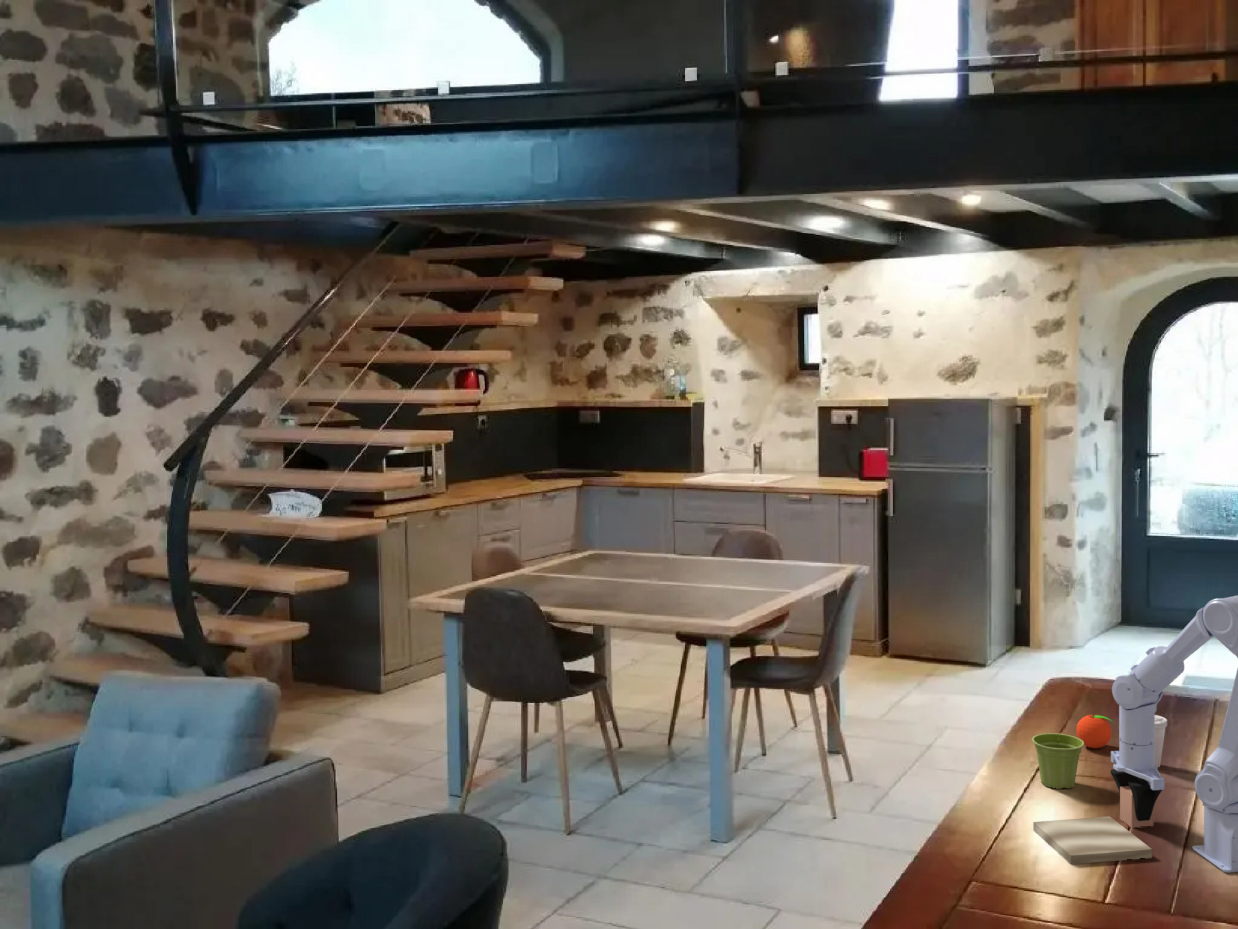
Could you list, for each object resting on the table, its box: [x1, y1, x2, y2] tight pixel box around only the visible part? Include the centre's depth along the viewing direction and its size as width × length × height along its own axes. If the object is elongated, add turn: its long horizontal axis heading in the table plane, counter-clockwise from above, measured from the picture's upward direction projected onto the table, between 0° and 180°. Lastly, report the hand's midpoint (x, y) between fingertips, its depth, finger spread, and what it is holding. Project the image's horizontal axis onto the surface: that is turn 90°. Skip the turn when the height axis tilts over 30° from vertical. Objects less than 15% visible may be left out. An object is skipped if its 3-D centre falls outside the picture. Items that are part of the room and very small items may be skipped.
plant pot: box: [1031, 732, 1085, 790], centre depth 227 cm, size 9×9×9 cm
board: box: [1033, 816, 1153, 865], centre depth 200 cm, size 14×14×2 cm
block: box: [1119, 786, 1154, 829], centre depth 208 cm, size 4×4×6 cm
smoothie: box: [1154, 714, 1168, 769], centre depth 235 cm, size 6×6×14 cm
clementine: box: [1075, 714, 1117, 749], centre depth 247 cm, size 8×7×7 cm
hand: (1136, 815), depth 208 cm, fingers closed on block, 4 cm apart
